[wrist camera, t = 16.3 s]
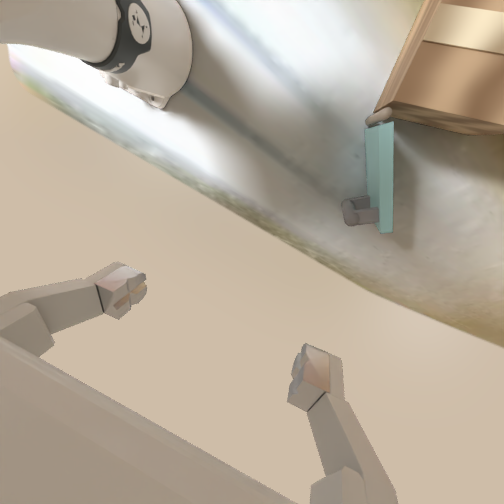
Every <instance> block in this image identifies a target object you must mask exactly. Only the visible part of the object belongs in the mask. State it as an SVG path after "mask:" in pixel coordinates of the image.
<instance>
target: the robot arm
mask: <svg viewBox="0 0 504 504" xmlns="http://www.w3.org/2000/svg"><path fill="white" fill-rule="evenodd" d="M0 44H22V45H29V46H35V47H39V48H43V49H47V50H51V51H55V52H58V53H62V54H65V55H69V56H72V57H76V58H79V59H80V60H82V61H83V62H84V63H86V64H88V65H90V66H92V67H94V68H96V69H98V70H99V72H100V74H101V75H102V77H103V78H104V79H105V82H106V83H107V84H109V85H111V86H114V87H118V88H119V87H120V88H122V89H124V90H126V91H128V92H129V93H131V94H133V95H135V96H137V97H139V98H140V99H142V100H144V101H146V102H148V103H149V104H151V105H153V106H155V107H157V108H160V109H162V108H164V107H165V105H166V104H167V102H168V100H169V98H170V97H171V96H172V95H173V94H175V93H176V92H178V91H179V90H180V89H181V88H182V86H183V85H184V84H185V82H186V80H187V78H188V75H189V72H190V68H191V63H192V38H191V32H190V28H189V25H188V22H187V19H186V16H185V14H184V12H183V10H182V8H181V7H180V5H179V4H178V2H177V1H176V0H0ZM153 98H154V99H153ZM145 280H146V275H145V274H144V273H142V272H140V271H138V270H135V269H133V268H131V267H129V266H127V265H124V264H122V263H120V262H114V263H112V264H110V265H109V266H107V267H105V268H104V269H102V270H100V271H98V272H96V273H94V274H93V275H91V276H89V277H87V278H86V279H82V278H81V279H75V280H70V281H65V282H60V283H55V284H49V285H44V286H39V287H34V288H29V289H24V290H18V291H14V292H9V293H8V294H5V295H3V296H1V297H0V504H297V503H295V502H293V501H292V500H290V499H288V498H286V497H285V496H283V495H281V494H279V493H278V492H276V491H274V490H272V489H270V488H269V487H267V486H265V485H263V484H262V483H260V482H258V481H256V480H255V479H253V478H251V477H249V476H247V475H246V474H244V473H242V472H240V471H239V470H237V469H235V468H233V467H232V466H230V465H228V464H226V463H225V462H223V461H221V460H219V459H217V458H216V457H214V456H212V455H210V454H209V453H207V452H205V451H203V450H202V449H200V448H198V447H196V446H194V445H193V444H191V443H189V442H187V441H186V440H184V439H182V438H180V437H179V436H177V435H175V434H173V433H171V432H169V431H168V430H166V429H164V428H163V427H161V426H159V425H157V424H156V423H154V422H152V421H150V420H148V419H147V418H145V417H143V416H141V415H140V414H138V413H136V412H134V411H132V410H131V409H129V408H127V407H125V406H124V405H122V404H120V403H118V402H117V401H115V400H113V399H111V398H110V397H108V396H106V395H104V394H102V393H101V392H99V391H97V390H95V389H94V388H92V387H90V386H88V385H87V384H85V383H83V382H81V381H79V380H78V379H76V378H74V377H72V376H71V375H69V374H67V373H65V372H63V371H62V370H60V369H58V368H56V367H55V366H53V365H51V364H49V363H47V362H46V361H44V360H42V359H41V358H39V357H40V356H41V355H42V354H43V353H45V352H46V351H47V350H49V349H50V348H51V347H52V346H54V343H55V341H54V340H53V338H52V336H51V334H53V333H56V332H58V331H61V330H63V329H66V328H68V327H71V326H74V325H76V324H79V323H81V322H84V321H86V320H89V319H92V318H94V317H97V316H99V315H102V314H103V313H105V314H107V315H109V316H112V317H114V318H116V319H118V320H119V319H120V318H121V317H122V316H124V315H125V314H126V313H127V312H128V311H129V310H130V309H131V305H134V304H137V303H139V302H140V301H141V300H142V299H143V298H144V296H145V295H146V291H147V286H146V284H145V282H144V281H145ZM291 375H292V377H293V381H292V382H291V384H290V386H289V393H288V400H287V402H289V403H291V404H292V405H294V406H296V407H298V408H300V409H302V410H304V411H306V412H307V416H308V419H309V422H310V426H311V429H312V432H313V436H314V439H315V442H316V445H317V449H318V452H319V455H320V458H321V462H322V465H323V468H324V472H325V475H326V477H324V478H322V479H321V480H319V481H317V482H315V483H314V484H312V485H311V494H310V504H398V501H397V496H396V491H395V489H394V487H393V485H392V483H391V481H390V479H389V477H388V476H387V474H386V472H385V470H384V468H383V466H382V464H381V463H380V461H379V459H378V457H377V455H376V453H375V451H374V449H373V447H372V446H371V444H370V442H369V440H368V438H367V436H366V434H365V433H364V431H363V429H362V427H361V425H360V423H359V421H358V419H357V418H356V416H355V414H354V412H353V410H352V408H351V406H350V404H349V403H348V402H346V401H345V398H344V384H343V369H342V360H341V358H339V357H337V356H334V355H332V354H330V353H328V352H326V351H323V350H321V349H318V348H316V347H314V346H311V345H309V344H307V343H305V344H304V345H303V347H302V350H301V353H298V355H297V356H296V358H295V361H294V364H293V368H292V374H291Z"/></svg>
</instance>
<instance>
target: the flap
mask: <svg viewBox="0 0 504 504" xmlns="http://www.w3.org/2000/svg"><path fill="white" fill-rule="evenodd" d="M391 115H392V109H391V108H390V107H386V108H384V109H382V110H380V111H379V112H377V113H375V114H373V115H372V116H370V117H368V118H367V119H366V121H365V123H366V125H372V124H375V123H378V122H380V121H383V120H386V119H388V118H389V117H390V116H391ZM365 150H366V175H367V196H362V197H357V198H351V199H345V200H344V201H343V202H342V204H341V206H342V211H343V216H344V221H345V224H346V225H348V226H355V225H362V224H370V223H375V225H376V227H377V228H378V230H379V232H380V234H383V233H392V232H393V153H394V121H392V122H389V123H385V124H382V125H379V126H375V127H372V128H368V129H365Z"/></svg>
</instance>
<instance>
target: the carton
mask: <svg viewBox="0 0 504 504" xmlns="http://www.w3.org/2000/svg"><path fill="white" fill-rule="evenodd" d="M386 107H390V108H391V109H392V115H391V116H390V117H394V118H398V119H402V120H407V121H411V122H415V123H419V124H423V125H428V126H432V127H436V128H440V129H445V130H449V131H453V132H457V133H461V134H466V135H490V134H504V0H424V2H423V4H422V6H421V8H420V11H419V13H418V15H417V17H416V19H415V22H414V24H413V26H412V28H411V30H410V33H409V35H408V37H407V39H406V41H405V44H404V46H403V48H402V50H401V52H400V55H399V57H398V59H397V61H396V63H395V66H394V68H393V70H392V72H391V74H390V77H389V79H388V81H387V83H386V85H385V88H384V90H383V92H382V94H381V96H380V99H379V101H378V103H377V105H376V107H375V110H374V112H373V113H377V112H379V111H380V110H382V109H384V108H386Z"/></svg>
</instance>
